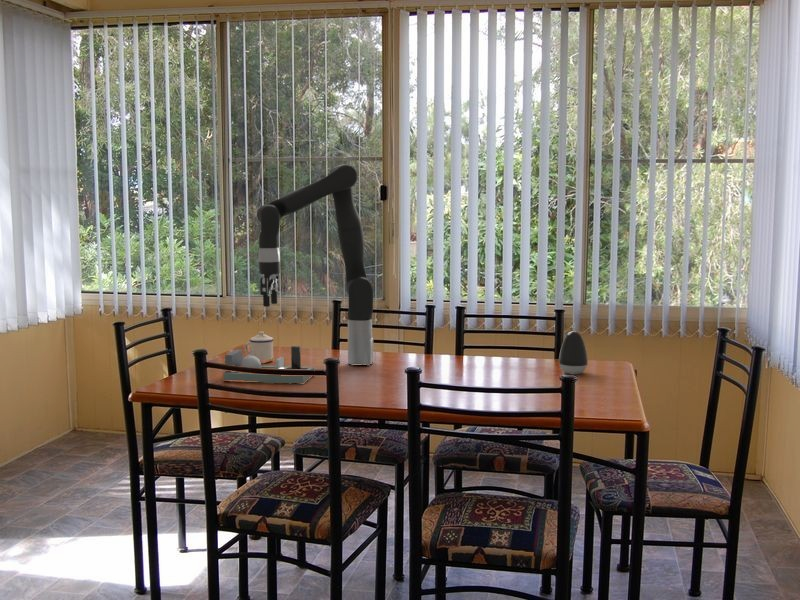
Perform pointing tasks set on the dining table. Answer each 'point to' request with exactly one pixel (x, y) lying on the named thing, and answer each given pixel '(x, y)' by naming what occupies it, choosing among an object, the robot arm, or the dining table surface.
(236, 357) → the press frame
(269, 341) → the teacup with lid
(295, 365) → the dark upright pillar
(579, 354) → the grey egg shaped speaker
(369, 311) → the robot arm
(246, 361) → the bath bomb
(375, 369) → the dining table surface
